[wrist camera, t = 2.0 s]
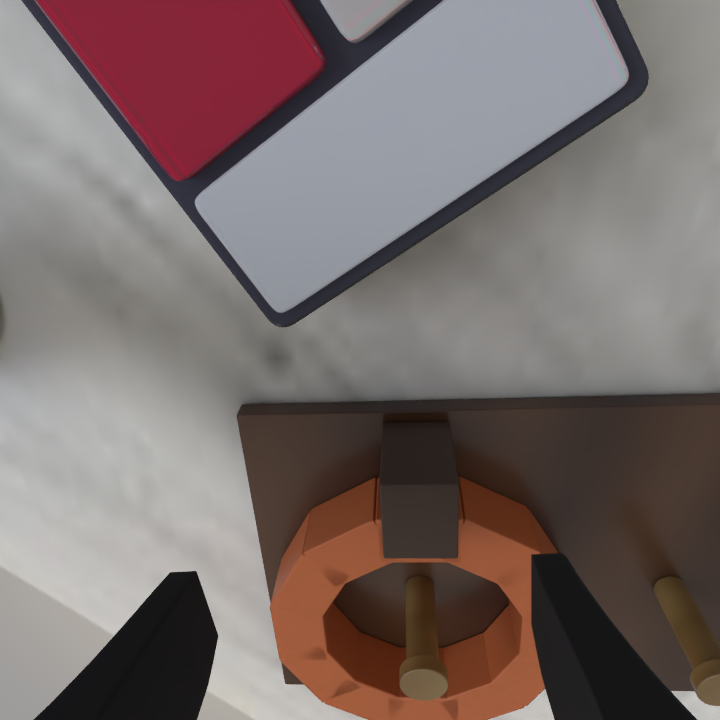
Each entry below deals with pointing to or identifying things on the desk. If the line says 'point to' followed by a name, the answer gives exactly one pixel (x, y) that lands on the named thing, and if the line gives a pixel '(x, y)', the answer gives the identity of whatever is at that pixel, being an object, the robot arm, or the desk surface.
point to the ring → (410, 544)
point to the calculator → (342, 116)
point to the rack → (540, 495)
